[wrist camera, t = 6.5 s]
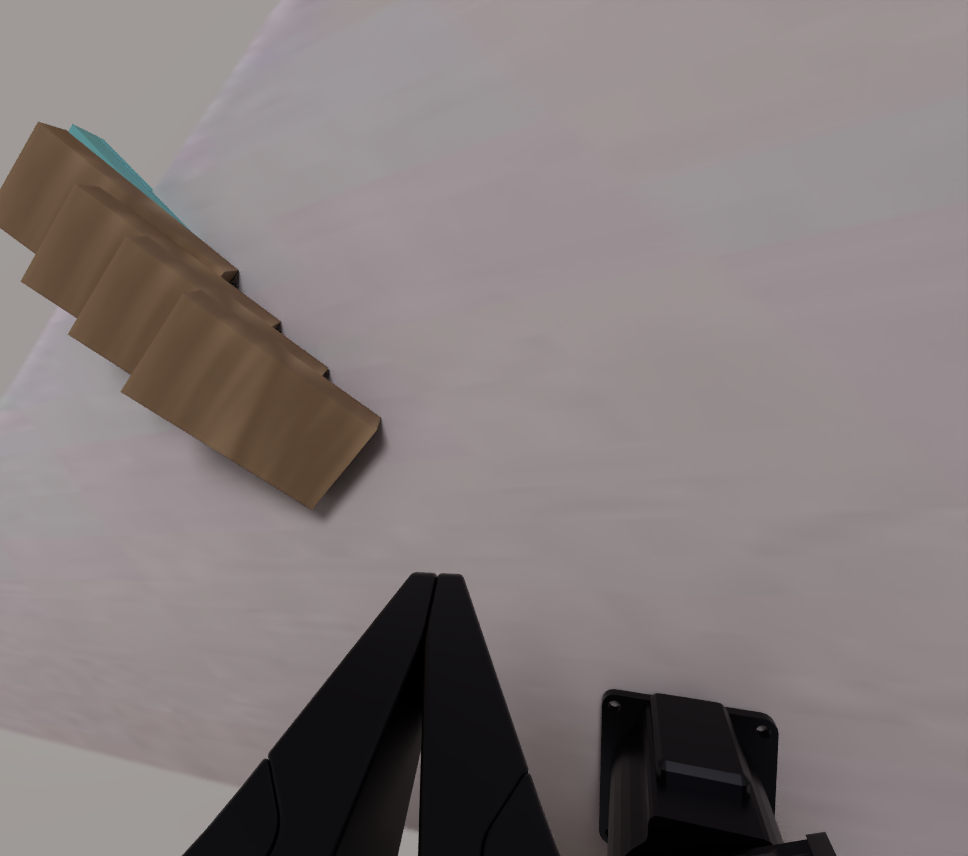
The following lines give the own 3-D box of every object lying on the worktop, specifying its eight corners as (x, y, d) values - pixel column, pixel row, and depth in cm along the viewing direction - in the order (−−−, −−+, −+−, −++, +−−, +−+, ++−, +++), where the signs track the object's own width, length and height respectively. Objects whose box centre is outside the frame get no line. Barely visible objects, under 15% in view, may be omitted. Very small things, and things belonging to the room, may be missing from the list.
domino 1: (376, 430, 22) (182, 294, 19) (311, 509, 23) (120, 391, 20) (380, 417, 23) (201, 289, 21) (319, 492, 24) (142, 380, 22)
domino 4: (224, 271, 23) (37, 121, 21) (167, 350, 24) (-16, 216, 22) (238, 270, 25) (66, 130, 23) (184, 345, 26) (15, 218, 24)
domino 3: (270, 327, 23) (74, 183, 20) (212, 407, 24) (20, 281, 21) (280, 321, 24) (99, 186, 22) (226, 397, 26) (47, 278, 23)
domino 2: (320, 377, 22) (125, 236, 20) (259, 456, 23) (67, 334, 21) (328, 368, 24) (147, 236, 21) (270, 443, 25) (92, 327, 22)
